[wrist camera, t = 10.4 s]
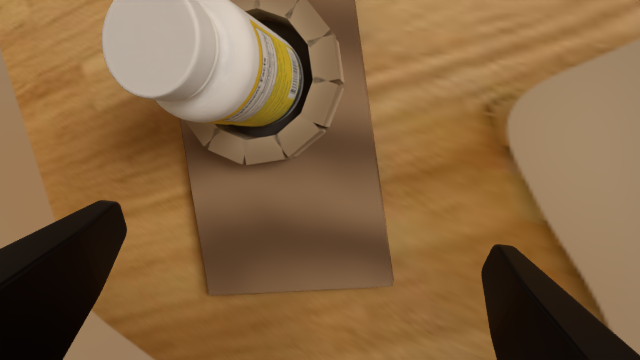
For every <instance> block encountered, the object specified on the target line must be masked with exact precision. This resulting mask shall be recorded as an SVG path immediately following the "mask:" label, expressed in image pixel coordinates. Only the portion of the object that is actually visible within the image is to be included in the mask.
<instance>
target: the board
mask: <svg viewBox="0 0 640 360" xmlns="http://www.w3.org/2000/svg"><path fill="white" fill-rule="evenodd" d="M229 1H231V2H233V3H234V4H235V5H237V6H238V7H240V8H241V9H242V10H244V11H245V12H247V13H248V14H249V15H251V16H252V17H253V18H255V19H256V20H258V21H259V22H260V23H262V24H263V25H264V26H266V27H267V28H269V29H270V30H271V31H273V32H274V33H276V34H277V35H278V36H280V37H281V38H282V39H284V40H285V41H286V42H287V43H288V44H289V45H290V46H291V47H292V48H293V49H294V50H295V52H296V53H297V55H298V57H299V59H300V62H301V65H302V68H303V76H304V82H303V90H302V94H301V97H300V99H299V101H298V103H297V105H296V106H295V108H294V109H293V111H292V112H291V113H290V114H289V115H288V116H287V117H285V118H284V119H283V120H281V121H279V122H277V123H275V124H273V125H269V126H263V127H251V126H239V125H226V124H214V123H200V122H193V121H187V120H183V119H181V118H180V123H181V129H182V135H183V141H184V147H185V153H186V159H187V165H188V171H189V177H190V183H191V189H192V195H193V201H194V207H195V213H196V219H197V225H198V231H199V237H200V243H201V249H202V255H203V261H204V267H205V273H206V279H207V285H208V291H209V295H228V294H248V293H268V292H288V291H308V290H328V289H348V288H368V287H388V286H393V281H394V280H393V272H392V265H391V258H390V251H389V243H388V236H387V229H386V222H385V215H384V207H383V200H382V193H381V186H380V179H379V171H378V164H377V157H376V150H375V142H374V135H373V128H372V121H371V114H370V106H369V99H368V92H367V85H366V78H365V70H364V63H363V56H362V49H361V41H360V34H359V27H358V20H357V13H356V5H355V0H229Z"/></svg>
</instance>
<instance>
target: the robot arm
mask: <svg viewBox="0 0 640 360" xmlns="http://www.w3.org/2000/svg"><path fill="white" fill-rule="evenodd" d="M126 233H127V227H126V223H125V220H124V216H123V213H122V209H121V206H120V204H119V203H118V202H115V201H106V200H100V201H97V202H95V203H93V204H91V205H89V206H87V207H85V208H83V209H80V210H78V211H76V212H74V213H72V214H70V215H68V216H66V217H64V218H62V219H60V220H58V221H56V222H54V223H52V224H50V225H48V226H46V227H44V228H42V229H40V230H38V231H36V232H34V233H32V234H30V235H27V236H25V237H24V238H22V239H19V240H17V241H15V242H13V243H11V244H9V245H7V246H5V247H3V248H1V249H0V360H63V358H64V356H65V355H66V353H67V351H68V349H69V348H70V346H71V344H72V342H73V340H74V339H75V337H76V335H77V334H78V332H79V330H80V328H81V327H82V325H83V323H84V321H85V319H86V318H87V316H88V314H89V313H90V311H91V309H92V307H93V306H94V304H95V302H96V300H97V299H98V297H99V295H100V293H101V291H102V289H103V287H104V285H105V283H106V280H107V278H108V276H109V274H110V271H111V269H112V267H113V264H114V262H115V260H116V257H117V255H118V253H119V251H120V248H121V246H122V244H123V241H124V239H125V237H126ZM482 283H483V289H484V296H485V302H486V309H487V315H488V322H489V328H490V334H491V338H492V343H493V347H494V350H495V354H496V358H497V360H640V355H639V354H637V353H636V352H635V351H634V350H633V349H632V348H631V347H629V346H628V345H627V344H626V343H625V342H624V341H623V340H621V339H620V338H619V337H618V336H617V335H616V334H614V333H613V332H612V331H611V330H610V329H609V328H608V327H606V326H605V325H604V324H603V323H602V322H601V321H599V320H598V319H597V318H596V317H595V316H594V315H593V314H591V313H590V312H589V311H588V310H587V309H586V308H584V307H583V306H582V305H581V304H580V303H579V302H577V301H576V300H575V299H574V298H573V297H572V296H571V295H569V294H568V293H567V292H566V291H565V290H564V289H562V288H561V287H560V286H559V285H558V284H557V283H556V282H554V281H553V280H552V279H551V278H550V277H549V276H547V275H546V274H545V273H544V272H543V271H542V270H540V269H539V268H538V267H537V266H536V265H535V264H534V263H532V262H531V261H530V260H529V259H528V258H527V257H525V256H524V255H523V254H522V253H521V252H520V251H519V250H517V249H516V248H515V247H513V246H509V245H500V244H497V245H494V246H493V247H492V249H491V251H490V253H489V255H488V257H487V259H486V261H485V263H484V265H483V268H482Z"/></svg>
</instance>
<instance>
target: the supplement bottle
mask: <svg viewBox="0 0 640 360" xmlns="http://www.w3.org/2000/svg"><path fill="white" fill-rule="evenodd" d="M102 48H103V54H104V58H105V61H106V64H107V67H108V69H109V71H110V73H111V74H112V76H113V77H114V79H115V80H116V81H117V82H118V83H119V85H120V86H122V87H123V88H124V89H125V90H126V91H128V92H130V93H131V94H134V95H136V96H139V97H142V98H147V99H153V100H155V101H156V102H157V103H158V104H159V105H160V106H161V107H162V108H163V109H164V110H166V111H167V112H168V113H170V114H172V115H174V116H176V117H178V118H181V119H183V120H187V121H193V122H200V123H214V124H226V125H239V126H251V127H263V126H269V125H273V124H275V123H277V122H279V121H281V120H283V119H284V118H285V117H287V116H288V115H289V114H290V113H291V112H292V111H293V109H294V108H295V106H296V105H297V103H298V101H299V99H300V97H301V94H302V90H303V82H304V76H303V68H302V65H301V62H300V59H299V57H298V55H297V53H296V52H295V50H294V49H293V48H292V47H291V46H290V45H289V44H288V43H287V42H286V41H285V40H284V39H282V38H281V37H280V36H278V35H277V34H276V33H274V32H273V31H271V30H270V29H269V28H267V27H266V26H264V25H263V24H262V23H260V22H259V21H258V20H256V19H255V18H253V17H252V16H251V15H249V14H248V13H247V12H245V11H244V10H242V9H241V8H240V7H238V6H237V5H235V4H234V3H233V2H231V1H229V0H114V1H113V3H112V4H111V6H110V8H109V10H108V12H107V15H106V18H105V21H104V24H103V30H102Z"/></svg>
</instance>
